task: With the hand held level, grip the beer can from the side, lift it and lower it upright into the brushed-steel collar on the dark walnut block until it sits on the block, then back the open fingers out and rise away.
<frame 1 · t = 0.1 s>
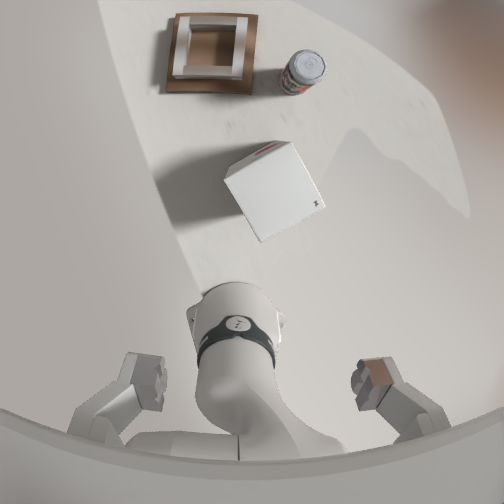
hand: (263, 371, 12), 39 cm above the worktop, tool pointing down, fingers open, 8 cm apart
beer can: (293, 81, 42), on the worktop
socket base: (212, 52, 39), on the worktop
supplement box: (265, 176, 47), on the worktop
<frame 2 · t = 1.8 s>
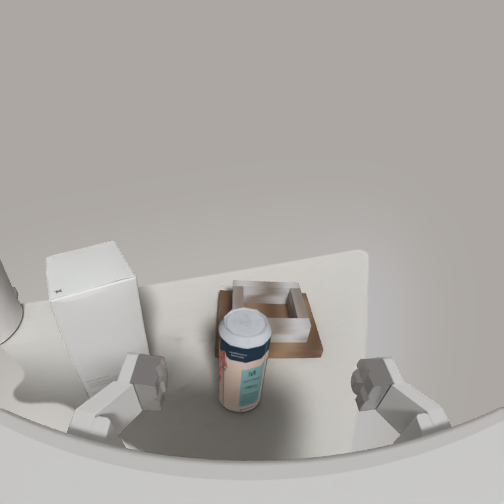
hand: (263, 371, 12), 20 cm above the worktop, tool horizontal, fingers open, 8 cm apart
beer can: (239, 398, 32), on the worktop
socket base: (265, 325, 43), on the worktop
supplement box: (113, 367, 33), on the worktop
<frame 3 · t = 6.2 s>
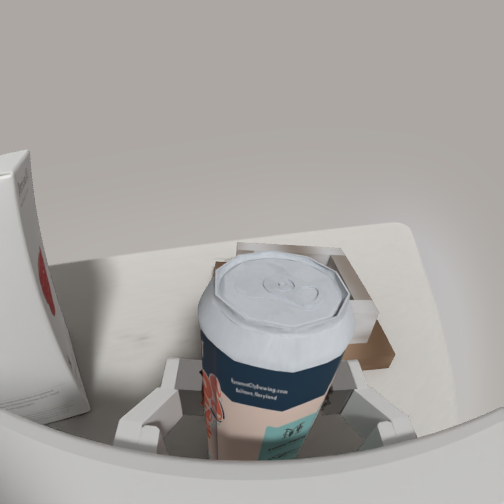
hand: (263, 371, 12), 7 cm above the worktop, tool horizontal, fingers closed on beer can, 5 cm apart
beer can: (250, 457, 14), on the worktop, touching gripper
socket base: (291, 317, 26), on the worktop
supplement box: (30, 381, 16), on the worktop
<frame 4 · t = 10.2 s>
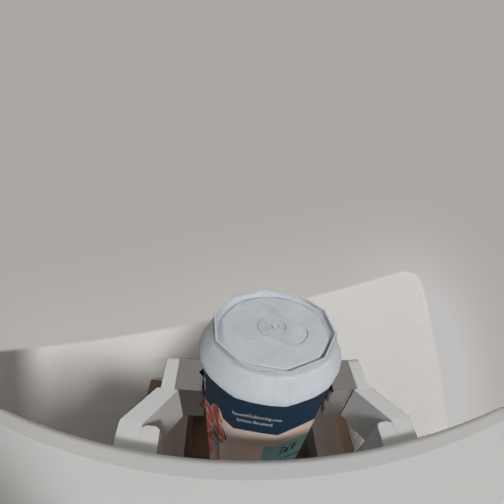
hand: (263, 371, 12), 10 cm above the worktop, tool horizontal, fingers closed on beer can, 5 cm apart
beer can: (248, 466, 15), point 1 cm above the worktop, touching gripper, socket base
socket base: (245, 471, 16), on the worktop
when the fingers open (10 cm above the worktop, at t = 10.6 s): beer can stays where it is, resting on socket base.
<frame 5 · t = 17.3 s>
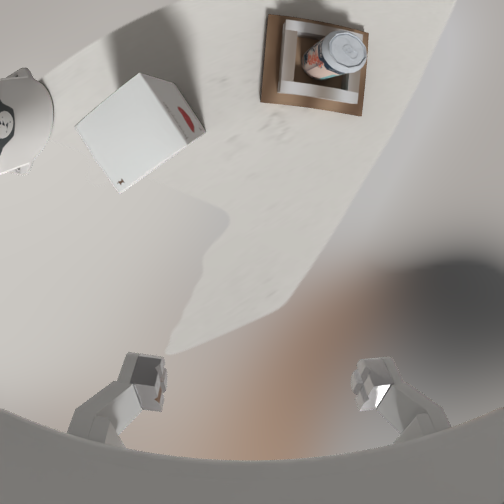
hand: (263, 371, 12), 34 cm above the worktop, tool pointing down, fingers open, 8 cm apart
beer can: (317, 64, 33), point 1 cm above the worktop, touching socket base
socket base: (315, 64, 35), on the worktop
supplement box: (165, 123, 38), on the worktop
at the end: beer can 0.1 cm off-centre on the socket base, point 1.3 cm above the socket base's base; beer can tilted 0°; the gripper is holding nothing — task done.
